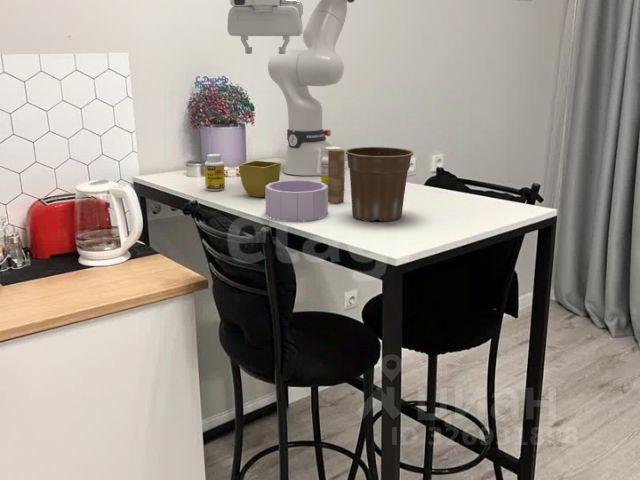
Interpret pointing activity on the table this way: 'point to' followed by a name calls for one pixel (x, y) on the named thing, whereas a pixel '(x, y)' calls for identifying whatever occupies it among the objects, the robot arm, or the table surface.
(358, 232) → the table surface
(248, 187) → the flower pot
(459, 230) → the table surface
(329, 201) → the brown wooden block
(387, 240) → the table surface
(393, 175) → the plant pot
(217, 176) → the supplement bottle
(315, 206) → the lilac round bowl
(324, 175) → the supplement bottle
